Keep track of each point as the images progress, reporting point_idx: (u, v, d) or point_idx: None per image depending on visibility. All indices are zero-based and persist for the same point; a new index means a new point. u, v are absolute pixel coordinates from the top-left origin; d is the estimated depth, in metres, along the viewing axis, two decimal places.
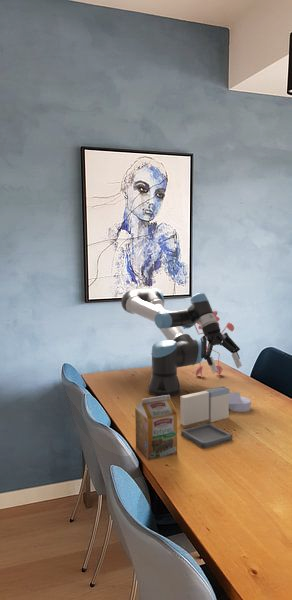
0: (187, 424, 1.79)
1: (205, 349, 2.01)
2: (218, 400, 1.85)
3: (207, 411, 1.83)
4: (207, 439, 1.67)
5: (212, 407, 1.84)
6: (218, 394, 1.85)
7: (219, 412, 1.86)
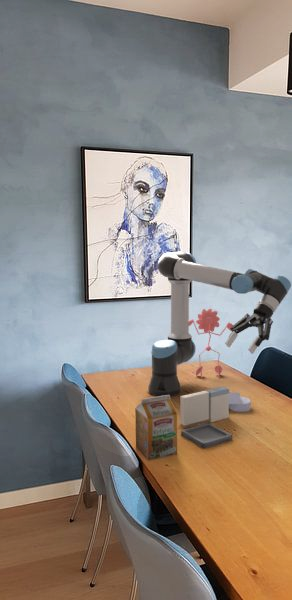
0: (187, 424, 1.79)
1: None
2: (218, 400, 1.85)
3: (207, 411, 1.83)
4: (207, 439, 1.67)
5: (212, 407, 1.84)
6: (218, 394, 1.85)
7: (219, 412, 1.86)
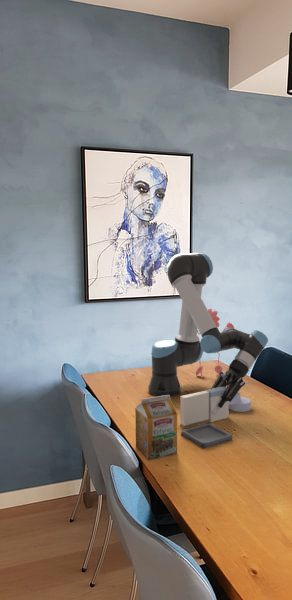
0: (187, 424, 1.79)
1: None
2: None
3: (207, 411, 1.83)
4: (207, 439, 1.67)
5: (212, 407, 1.84)
6: (218, 394, 1.85)
7: (219, 412, 1.86)
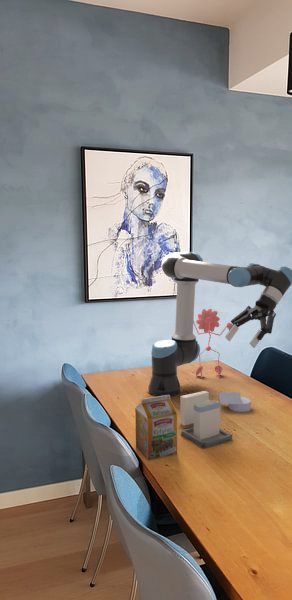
0: (187, 424, 1.79)
1: None
2: (207, 415, 1.67)
3: None
4: (207, 439, 1.67)
5: (201, 423, 1.66)
6: (208, 409, 1.67)
7: (208, 429, 1.68)
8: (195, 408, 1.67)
